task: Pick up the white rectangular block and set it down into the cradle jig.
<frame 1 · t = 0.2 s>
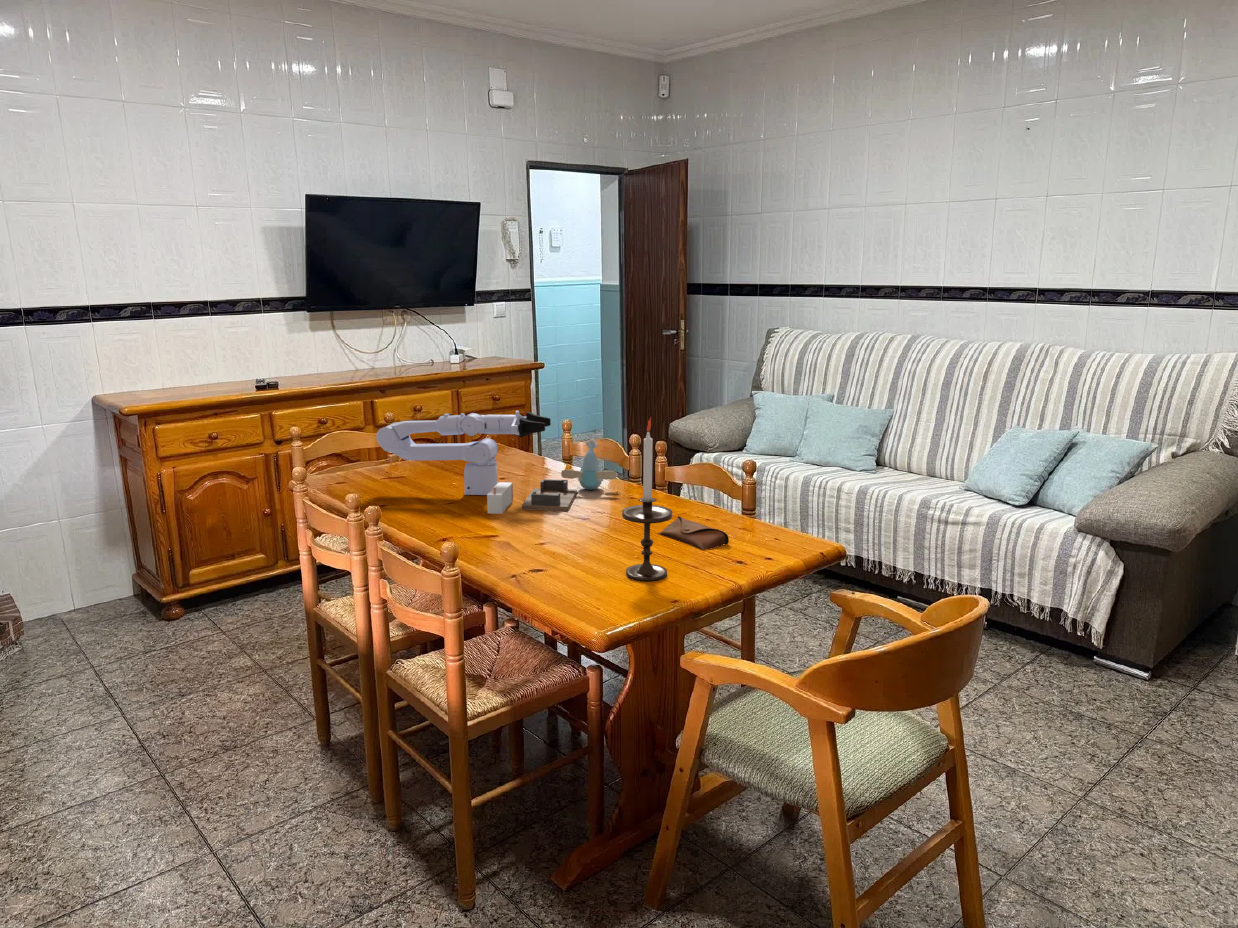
hand: (547, 424, 250), 21 cm above the table, tool horizontal, fingers open, 7 cm apart
toy figure: (590, 489, 262), on the table
candlestick: (646, 575, 189), on the table
white rectangular block: (500, 507, 242), on the table
cradle jig: (550, 501, 248), on the table
sunglasses case: (691, 541, 214), on the table
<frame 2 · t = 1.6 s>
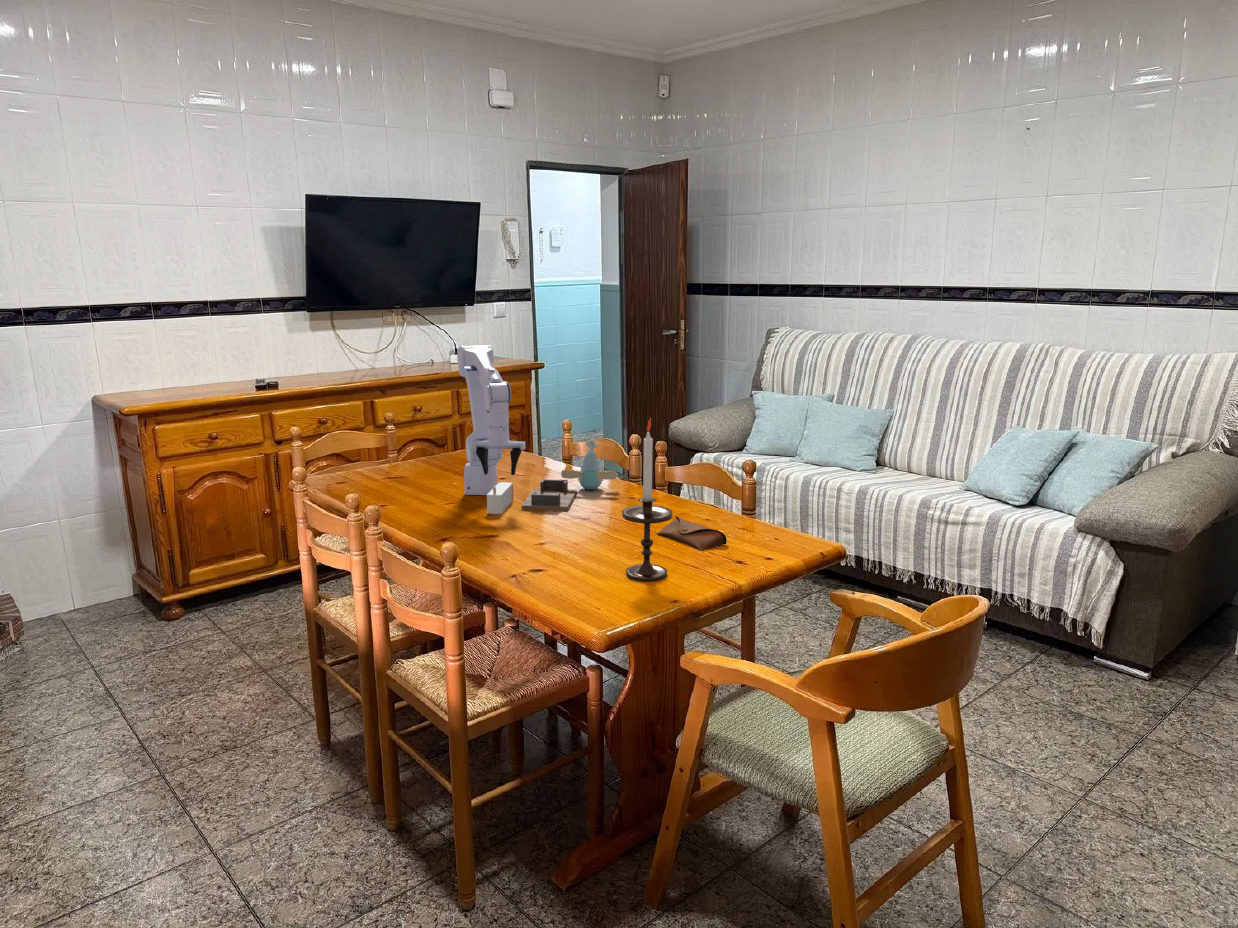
hand: (499, 474, 240), 9 cm above the table, tool pointing down, fingers open, 7 cm apart
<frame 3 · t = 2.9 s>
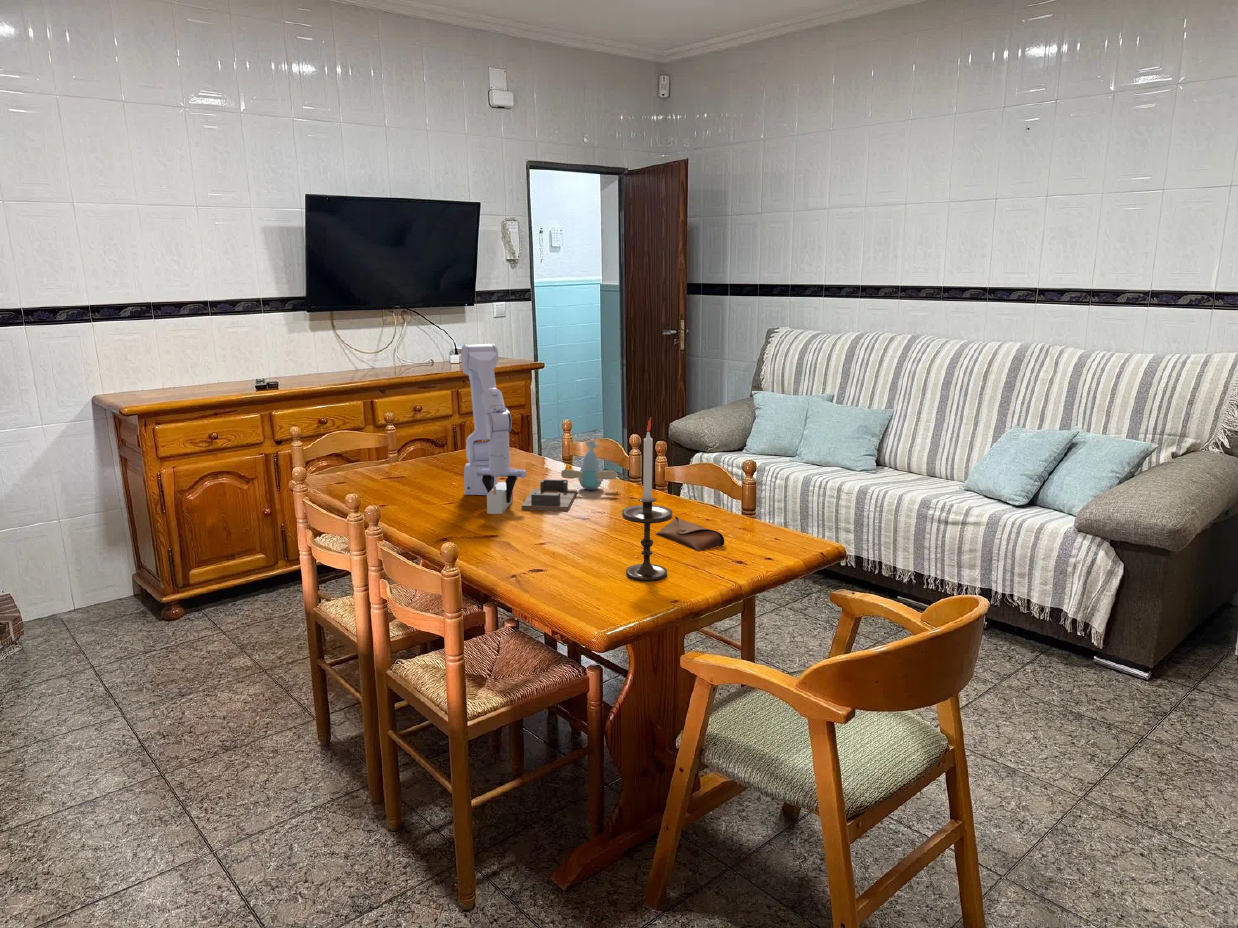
hand: (500, 501, 242), 1 cm above the table, tool pointing down, fingers closed on white rectangular block, 4 cm apart
white rectangular block: (500, 507, 242), on the table, touching gripper
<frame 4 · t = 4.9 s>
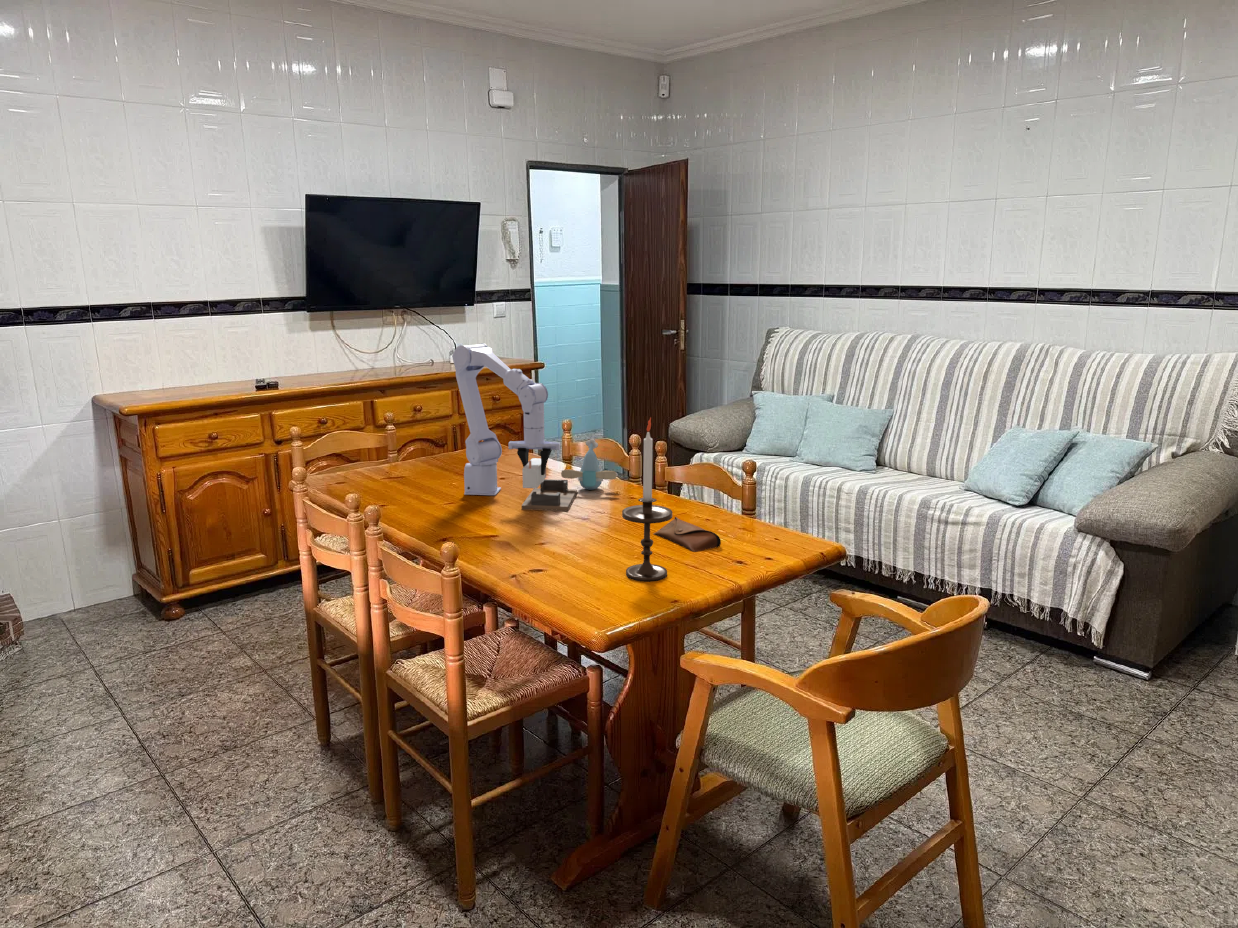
hand: (535, 474, 244), 8 cm above the table, tool pointing down, fingers closed on white rectangular block, 4 cm apart
white rectangular block: (534, 482, 244), point 6 cm above the table, touching gripper
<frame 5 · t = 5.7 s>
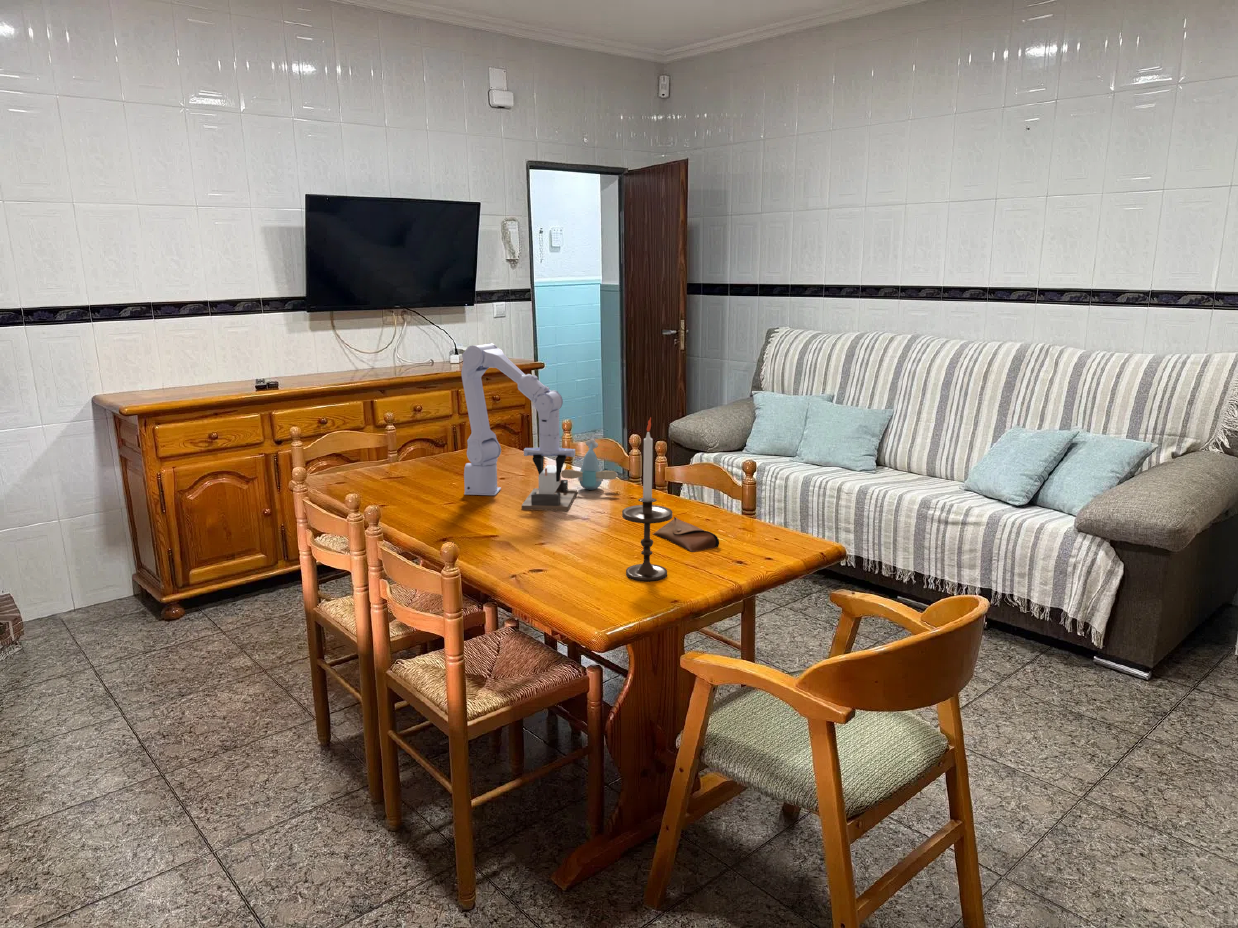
hand: (550, 480, 247), 6 cm above the table, tool pointing down, fingers closed on white rectangular block, 4 cm apart
white rectangular block: (549, 489, 247), point 4 cm above the table, touching gripper
when the fingers open (4 cm above the table, at t = 6.4 s): white rectangular block stays where it is, resting on cradle jig.
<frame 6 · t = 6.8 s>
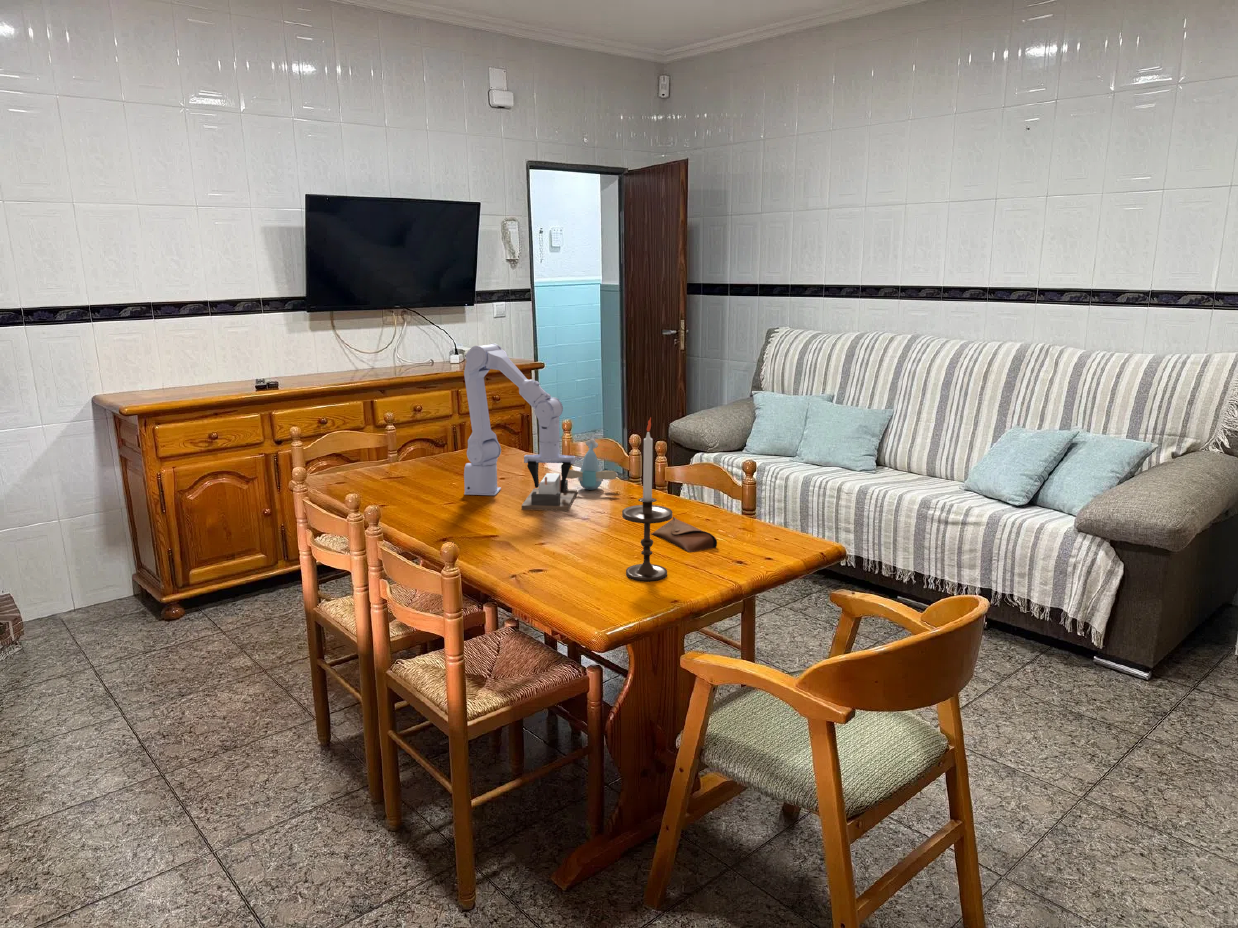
hand: (550, 487, 247), 4 cm above the table, tool pointing down, fingers open, 7 cm apart
white rectangular block: (549, 497, 247), point 1 cm above the table, touching cradle jig
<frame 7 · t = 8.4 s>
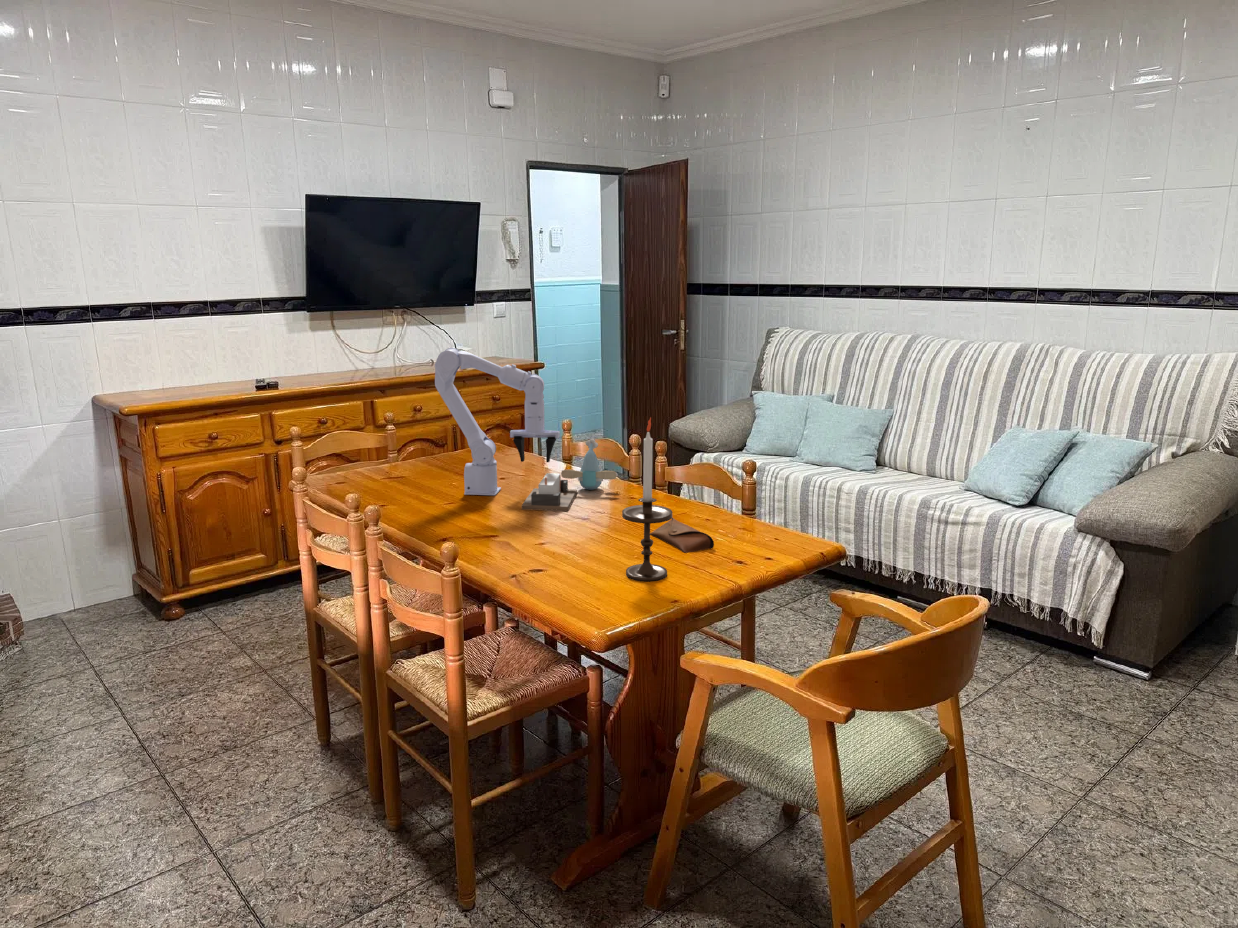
hand: (535, 461, 256), 9 cm above the table, tool pointing down, fingers open, 7 cm apart
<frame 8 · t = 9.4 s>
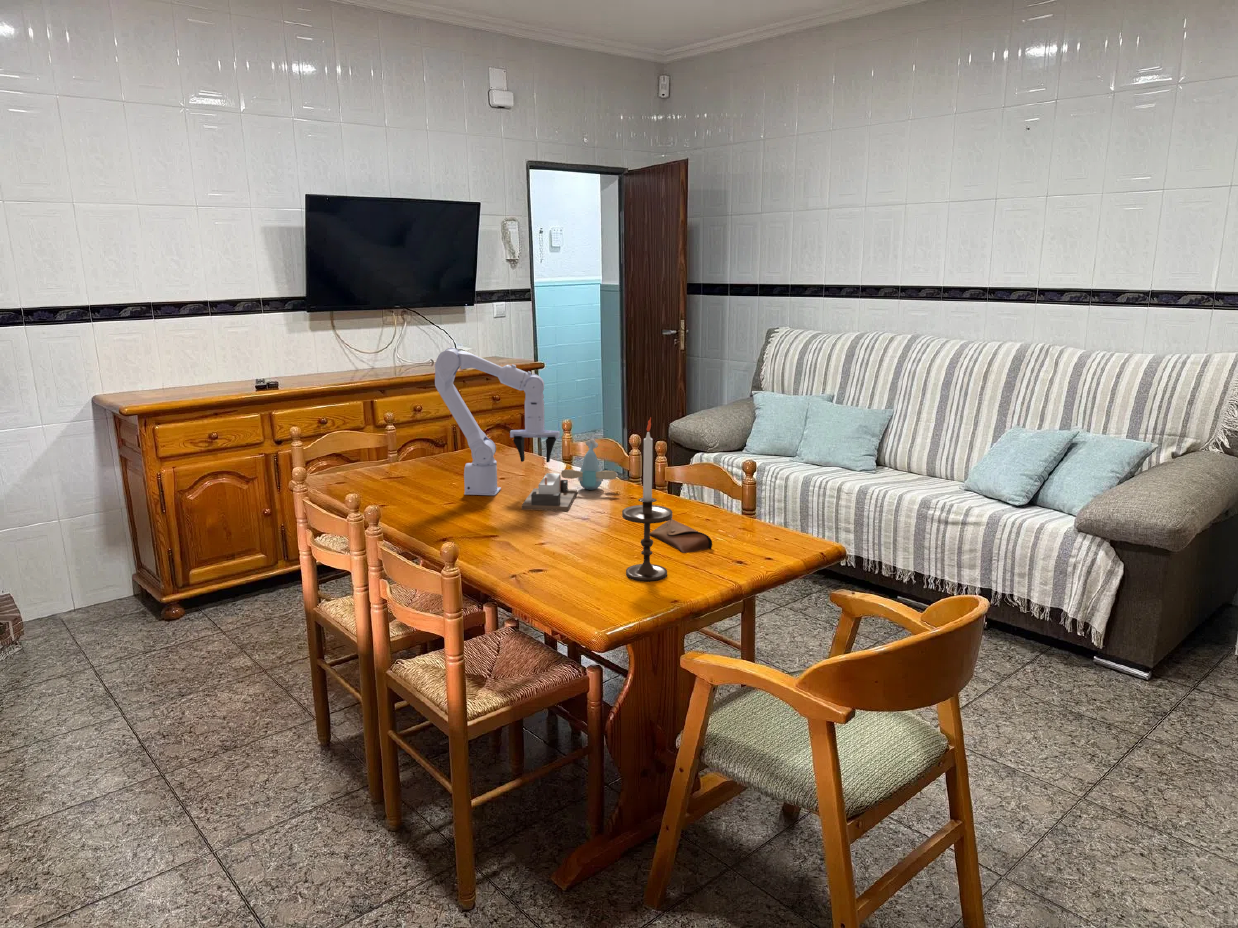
hand: (535, 461, 256), 9 cm above the table, tool pointing down, fingers open, 7 cm apart
at the end: white rectangular block 0.4 cm off-centre on the cradle jig, point 1.2 cm above the cradle jig's base; white rectangular block tilted 0°; the gripper is holding nothing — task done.
